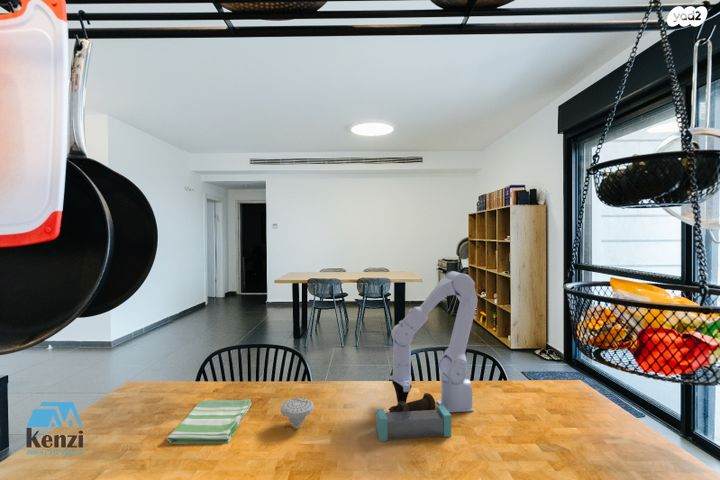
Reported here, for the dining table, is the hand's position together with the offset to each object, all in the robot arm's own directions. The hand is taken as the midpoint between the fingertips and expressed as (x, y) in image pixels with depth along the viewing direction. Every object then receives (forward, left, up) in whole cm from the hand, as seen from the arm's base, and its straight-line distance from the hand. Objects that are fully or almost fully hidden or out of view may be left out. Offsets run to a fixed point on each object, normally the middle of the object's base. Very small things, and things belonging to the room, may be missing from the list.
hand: (401, 404), depth 115 cm
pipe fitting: (0, +14, -2) cm, 14 cm away
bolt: (-2, +3, -2) cm, 4 cm away
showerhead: (+33, +7, -2) cm, 34 cm away
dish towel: (+58, +1, -2) cm, 58 cm away
